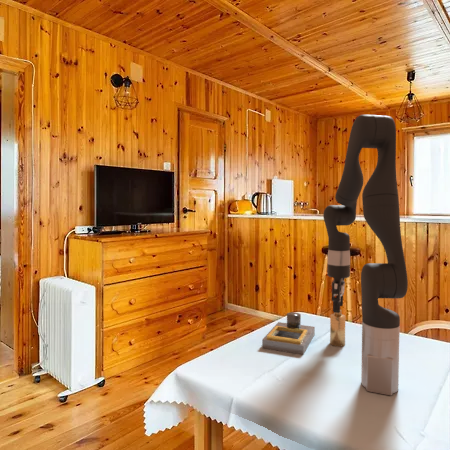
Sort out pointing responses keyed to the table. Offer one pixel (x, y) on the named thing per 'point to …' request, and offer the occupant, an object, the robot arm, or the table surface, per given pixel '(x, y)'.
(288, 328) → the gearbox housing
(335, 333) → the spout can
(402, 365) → the table surface
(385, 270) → the robot arm
